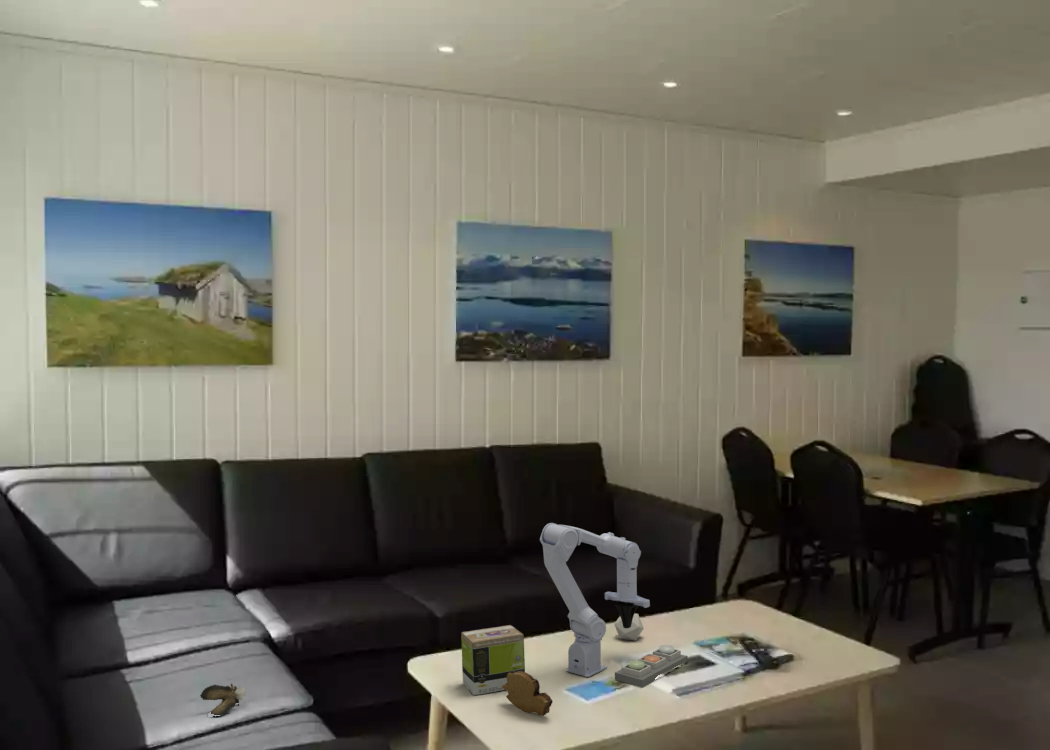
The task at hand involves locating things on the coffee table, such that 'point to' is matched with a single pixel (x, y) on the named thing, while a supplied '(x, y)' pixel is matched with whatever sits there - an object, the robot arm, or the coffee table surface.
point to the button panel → (650, 668)
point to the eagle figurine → (223, 697)
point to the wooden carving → (526, 693)
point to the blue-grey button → (666, 649)
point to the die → (631, 632)
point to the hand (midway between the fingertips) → (627, 627)
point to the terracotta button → (652, 658)
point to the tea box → (491, 657)
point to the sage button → (636, 665)
